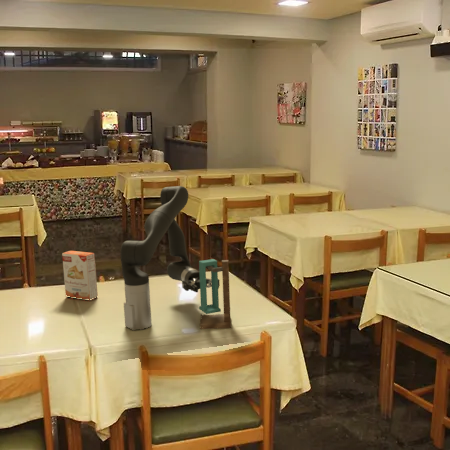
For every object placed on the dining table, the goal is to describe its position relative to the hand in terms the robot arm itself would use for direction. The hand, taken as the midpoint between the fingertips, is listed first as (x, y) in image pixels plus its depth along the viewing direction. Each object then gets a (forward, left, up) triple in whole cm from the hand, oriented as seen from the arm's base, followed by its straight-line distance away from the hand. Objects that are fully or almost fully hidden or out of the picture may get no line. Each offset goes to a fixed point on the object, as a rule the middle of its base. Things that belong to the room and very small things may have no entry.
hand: (207, 288), depth 231 cm
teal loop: (0, -1, -8) cm, 8 cm away
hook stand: (0, -4, -13) cm, 14 cm away
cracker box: (-23, +64, -13) cm, 69 cm away
